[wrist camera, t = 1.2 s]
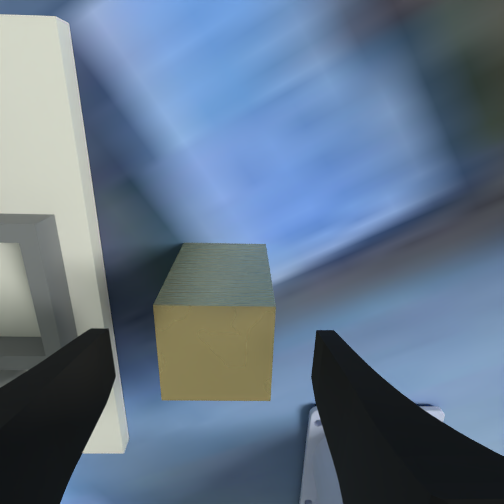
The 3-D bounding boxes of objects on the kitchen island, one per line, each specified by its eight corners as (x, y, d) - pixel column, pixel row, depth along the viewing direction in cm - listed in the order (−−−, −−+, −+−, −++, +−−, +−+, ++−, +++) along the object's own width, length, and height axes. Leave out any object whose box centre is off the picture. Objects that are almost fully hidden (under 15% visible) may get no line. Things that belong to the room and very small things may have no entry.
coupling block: (262, 314, 18) (270, 400, 13) (187, 313, 18) (161, 400, 13) (265, 244, 17) (275, 306, 11) (183, 242, 17) (153, 305, 11)
